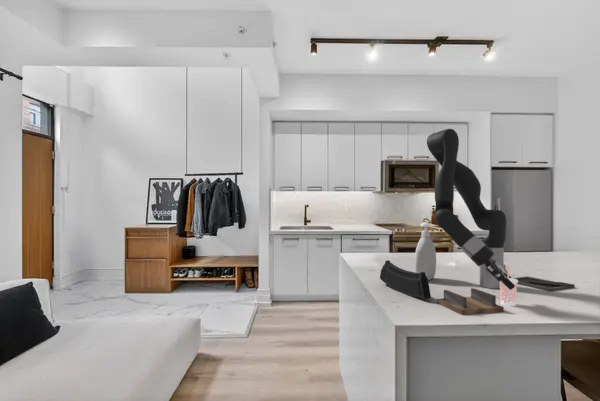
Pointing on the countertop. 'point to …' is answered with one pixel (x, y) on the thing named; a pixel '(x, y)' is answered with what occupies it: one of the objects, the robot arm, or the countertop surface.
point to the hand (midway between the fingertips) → (513, 286)
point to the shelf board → (470, 302)
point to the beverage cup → (508, 292)
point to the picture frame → (543, 284)
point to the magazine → (405, 281)
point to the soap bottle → (425, 254)
